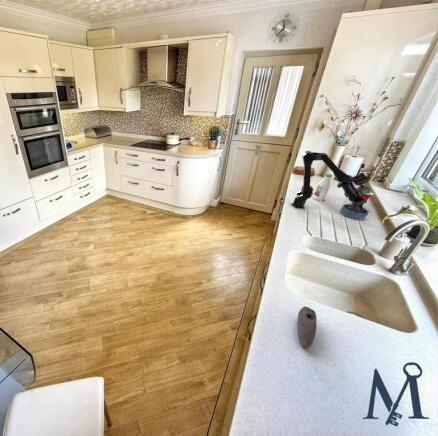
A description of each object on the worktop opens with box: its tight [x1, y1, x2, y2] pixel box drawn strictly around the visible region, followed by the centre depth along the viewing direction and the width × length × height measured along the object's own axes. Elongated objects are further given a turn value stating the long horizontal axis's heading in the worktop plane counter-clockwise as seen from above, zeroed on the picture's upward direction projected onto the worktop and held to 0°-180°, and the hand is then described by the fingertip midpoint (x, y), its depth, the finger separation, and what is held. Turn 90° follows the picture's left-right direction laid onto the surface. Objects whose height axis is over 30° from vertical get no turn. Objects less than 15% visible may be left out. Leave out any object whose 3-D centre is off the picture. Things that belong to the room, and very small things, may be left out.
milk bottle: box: [312, 173, 334, 202], centre depth 178 cm, size 8×8×20 cm
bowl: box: [339, 203, 370, 221], centre depth 159 cm, size 14×14×5 cm
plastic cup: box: [351, 191, 375, 206], centre depth 172 cm, size 11×11×12 cm
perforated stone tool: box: [296, 305, 318, 350], centre depth 79 cm, size 15×5×7 cm, turn 147°
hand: (360, 207), depth 155 cm, fingers closed on muddler, 2 cm apart
